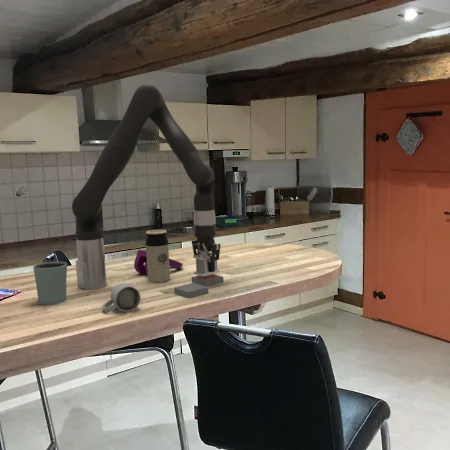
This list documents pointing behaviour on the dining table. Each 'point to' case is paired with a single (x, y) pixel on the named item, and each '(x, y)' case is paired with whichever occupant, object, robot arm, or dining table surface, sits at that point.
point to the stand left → (191, 290)
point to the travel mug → (157, 256)
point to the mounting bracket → (142, 259)
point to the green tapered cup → (51, 282)
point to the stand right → (207, 279)
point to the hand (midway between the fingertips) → (206, 270)
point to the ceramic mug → (123, 298)
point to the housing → (204, 265)
